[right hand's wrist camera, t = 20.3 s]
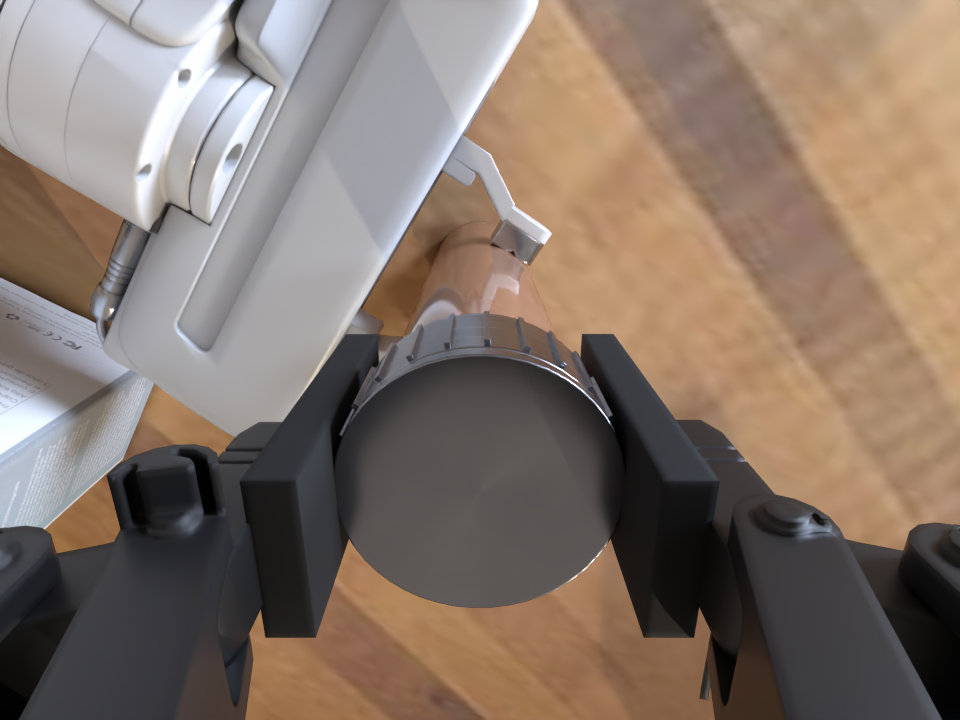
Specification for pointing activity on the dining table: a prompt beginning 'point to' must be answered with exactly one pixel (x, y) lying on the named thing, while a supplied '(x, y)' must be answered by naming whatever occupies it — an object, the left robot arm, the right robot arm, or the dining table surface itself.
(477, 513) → the lid
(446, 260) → the tan long rounded cylinder
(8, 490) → the hard drive box
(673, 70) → the dining table surface
